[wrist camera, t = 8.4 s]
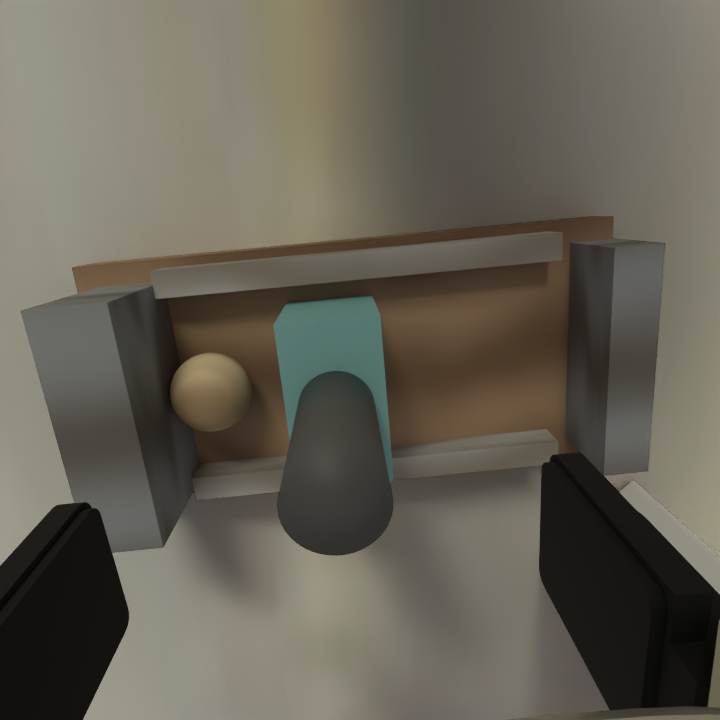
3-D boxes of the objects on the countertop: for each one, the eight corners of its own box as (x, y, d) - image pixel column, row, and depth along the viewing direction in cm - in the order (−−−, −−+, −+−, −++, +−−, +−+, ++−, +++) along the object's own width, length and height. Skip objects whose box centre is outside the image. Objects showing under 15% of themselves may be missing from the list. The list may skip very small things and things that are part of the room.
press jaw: (286, 302, 24) (237, 385, 12) (371, 294, 24) (403, 369, 12) (304, 439, 26) (276, 623, 14) (383, 431, 26) (419, 608, 14)
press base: (92, 263, 25) (-17, 284, 17) (592, 216, 25) (702, 216, 18) (142, 480, 28) (70, 578, 21) (584, 435, 29) (674, 516, 21)
